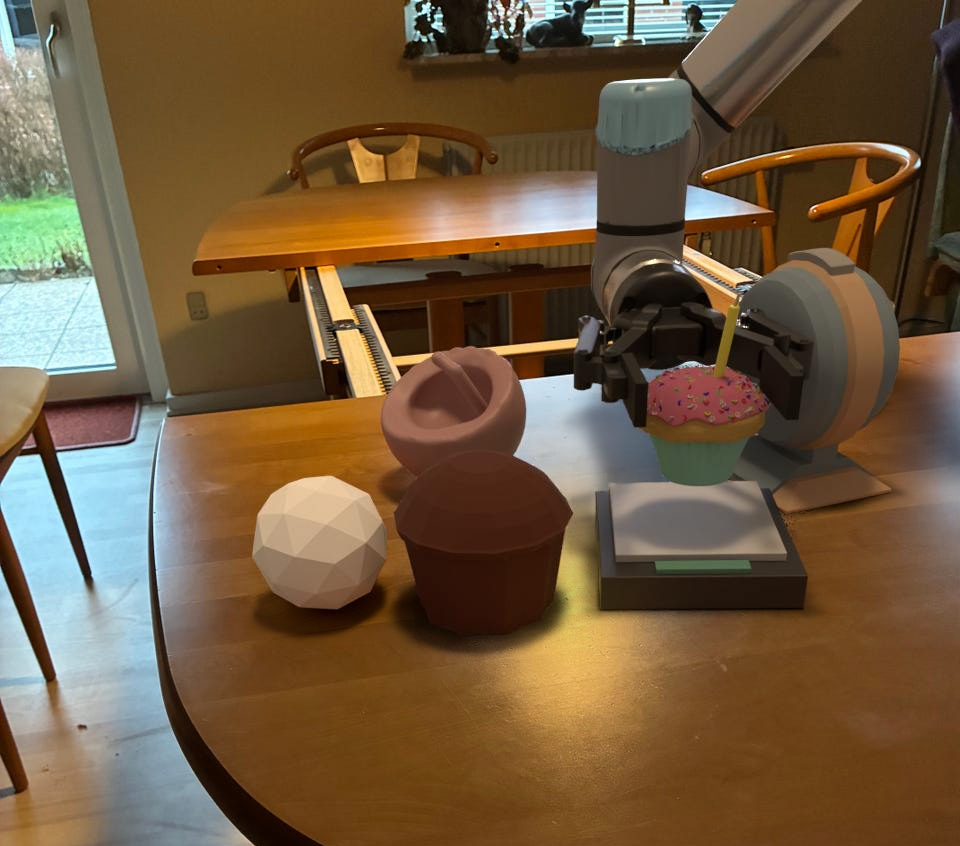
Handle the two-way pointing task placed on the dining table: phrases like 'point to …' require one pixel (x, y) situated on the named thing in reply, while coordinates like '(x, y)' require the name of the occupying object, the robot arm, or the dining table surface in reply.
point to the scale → (695, 548)
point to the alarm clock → (823, 379)
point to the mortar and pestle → (454, 408)
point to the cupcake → (703, 417)
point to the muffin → (483, 541)
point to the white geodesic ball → (320, 542)
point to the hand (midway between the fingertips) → (717, 401)
